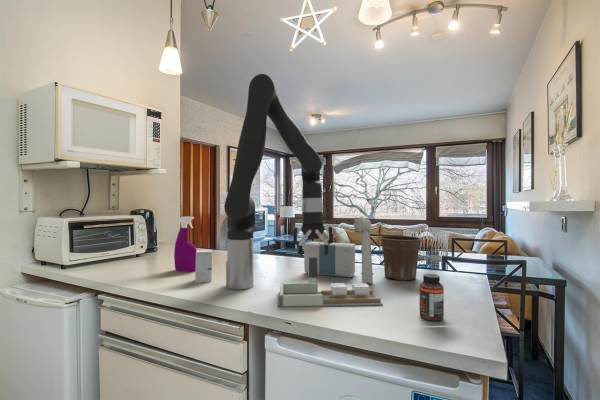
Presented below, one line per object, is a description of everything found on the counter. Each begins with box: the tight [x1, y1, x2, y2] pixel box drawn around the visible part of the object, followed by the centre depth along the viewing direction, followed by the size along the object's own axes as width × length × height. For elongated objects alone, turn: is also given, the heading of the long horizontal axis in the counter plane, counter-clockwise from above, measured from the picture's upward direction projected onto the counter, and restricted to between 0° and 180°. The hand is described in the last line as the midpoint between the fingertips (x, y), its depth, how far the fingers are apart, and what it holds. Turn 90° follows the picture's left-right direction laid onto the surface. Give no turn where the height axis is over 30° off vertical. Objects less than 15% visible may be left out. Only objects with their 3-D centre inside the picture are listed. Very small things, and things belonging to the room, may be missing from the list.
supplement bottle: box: [418, 273, 445, 322], centre depth 83 cm, size 6×6×11 cm
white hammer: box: [353, 216, 374, 285], centre depth 119 cm, size 5×7×25 cm
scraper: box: [307, 256, 318, 283], centre depth 113 cm, size 3×6×11 cm, turn 3°
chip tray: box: [279, 282, 322, 306], centre depth 99 cm, size 12×14×3 cm
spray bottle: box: [173, 215, 198, 273], centre depth 136 cm, size 3×11×24 cm, turn 74°
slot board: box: [277, 289, 384, 308], centre depth 99 cm, size 31×14×1 cm, turn 93°
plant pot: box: [379, 235, 423, 281], centre depth 128 cm, size 16×16×16 cm
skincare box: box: [194, 249, 214, 283], centre depth 120 cm, size 6×4×12 cm
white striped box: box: [303, 227, 356, 278], centre depth 133 cm, size 21×8×20 cm, turn 67°
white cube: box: [329, 282, 348, 298], centre depth 99 cm, size 4×4×4 cm
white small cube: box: [351, 282, 370, 298], centre depth 100 cm, size 4×4×4 cm
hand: (313, 255), depth 113 cm, fingers open, 8 cm apart
